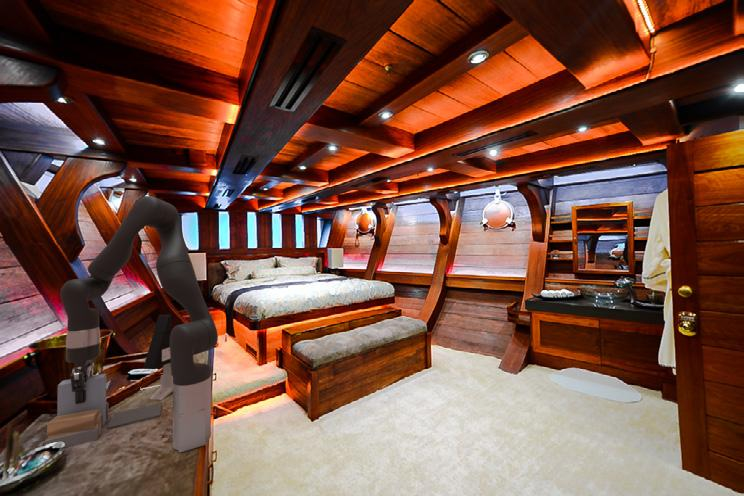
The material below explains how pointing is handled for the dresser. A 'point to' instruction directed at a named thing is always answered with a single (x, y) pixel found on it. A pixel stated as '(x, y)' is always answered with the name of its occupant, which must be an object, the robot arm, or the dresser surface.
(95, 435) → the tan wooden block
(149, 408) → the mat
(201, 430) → the robot arm
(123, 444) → the dresser surface
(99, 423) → the offcut lower
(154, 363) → the award
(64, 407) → the sheet
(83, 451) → the dresser surface
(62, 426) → the offcut upper
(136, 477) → the dresser surface
